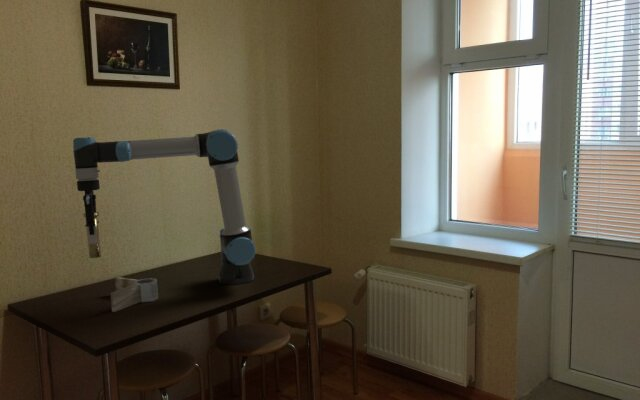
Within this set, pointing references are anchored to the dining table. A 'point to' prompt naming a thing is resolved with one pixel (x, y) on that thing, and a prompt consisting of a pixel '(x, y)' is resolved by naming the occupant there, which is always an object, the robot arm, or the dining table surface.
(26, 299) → the dining table surface
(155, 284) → the knuckle barrel
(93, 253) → the hinge pin
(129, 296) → the hinge leaves
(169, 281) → the dining table surface
